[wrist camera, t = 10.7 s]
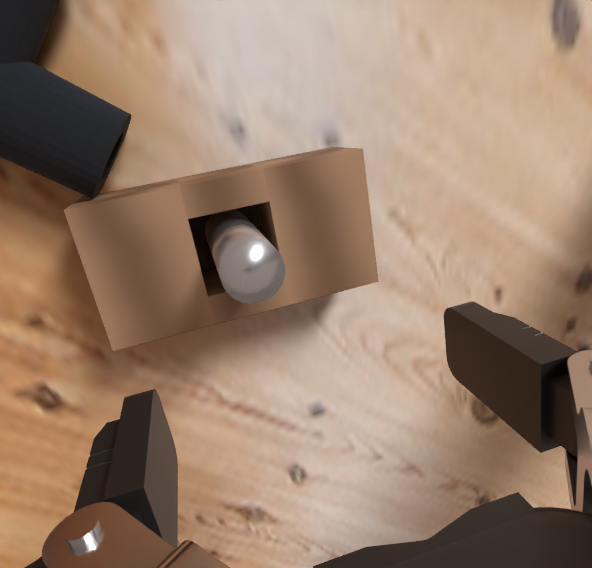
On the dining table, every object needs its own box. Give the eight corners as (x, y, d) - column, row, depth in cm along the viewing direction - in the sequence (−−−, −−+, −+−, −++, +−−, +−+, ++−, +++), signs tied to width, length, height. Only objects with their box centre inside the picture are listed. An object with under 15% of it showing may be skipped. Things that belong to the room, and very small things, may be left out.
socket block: (333, 147, 30) (362, 148, 26) (349, 261, 33) (378, 281, 28) (81, 197, 27) (63, 209, 23) (121, 318, 30) (112, 351, 26)
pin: (245, 204, 30) (278, 233, 21) (255, 247, 31) (290, 294, 22) (200, 214, 30) (213, 249, 20) (211, 258, 31) (228, 310, 21)
